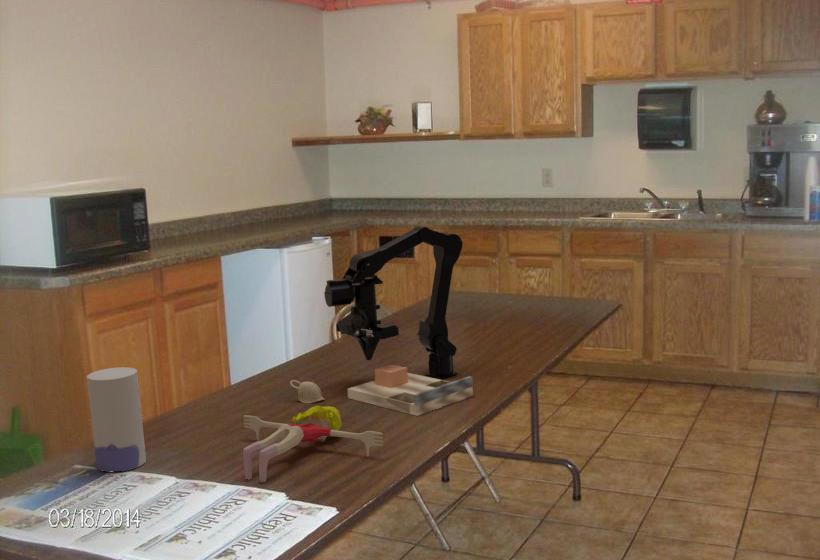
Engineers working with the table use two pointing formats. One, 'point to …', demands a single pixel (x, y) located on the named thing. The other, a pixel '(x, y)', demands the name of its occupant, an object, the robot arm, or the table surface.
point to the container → (116, 419)
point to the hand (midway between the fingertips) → (368, 359)
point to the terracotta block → (391, 376)
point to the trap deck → (414, 394)
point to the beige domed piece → (308, 392)
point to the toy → (298, 436)
